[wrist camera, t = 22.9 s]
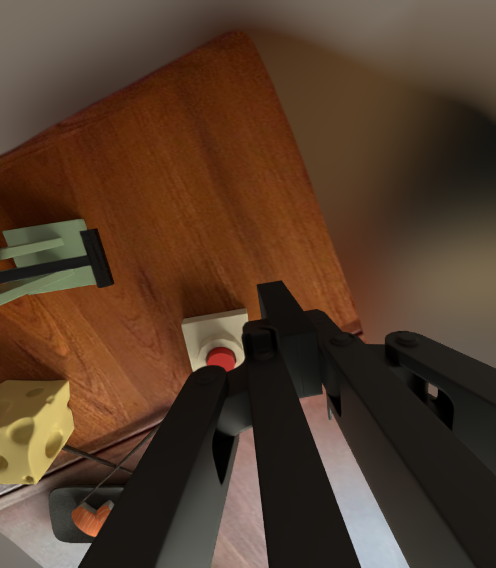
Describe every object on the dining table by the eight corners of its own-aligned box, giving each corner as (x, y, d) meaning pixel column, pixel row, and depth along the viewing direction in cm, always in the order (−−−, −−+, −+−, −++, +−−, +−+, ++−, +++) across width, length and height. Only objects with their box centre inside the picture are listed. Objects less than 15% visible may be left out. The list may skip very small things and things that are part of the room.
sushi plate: (60, 532, 52) (47, 556, 49) (43, 406, 44) (26, 424, 41) (207, 530, 55) (206, 553, 52) (218, 412, 47) (217, 429, 43)
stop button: (205, 349, 40) (204, 355, 38) (231, 344, 40) (232, 350, 38) (210, 372, 41) (209, 379, 39) (236, 367, 41) (236, 374, 39)
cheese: (70, 377, 43) (25, 426, 34) (77, 431, 46) (38, 489, 37) (1, 377, 42) (-65, 427, 33) (13, 431, 45) (-44, 491, 36)
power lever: (98, 228, 28) (95, 228, 26) (115, 281, 30) (113, 285, 28) (-62, 253, 24) (-81, 257, 22) (-32, 314, 26) (-47, 322, 24)
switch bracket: (83, 218, 37) (-19, 227, 21) (103, 280, 39) (25, 327, 24) (10, 230, 36) (-145, 247, 21) (35, 291, 39) (-87, 346, 24)
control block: (183, 318, 42) (178, 330, 38) (246, 307, 42) (247, 318, 38) (198, 382, 45) (196, 398, 41) (256, 372, 45) (259, 387, 42)
